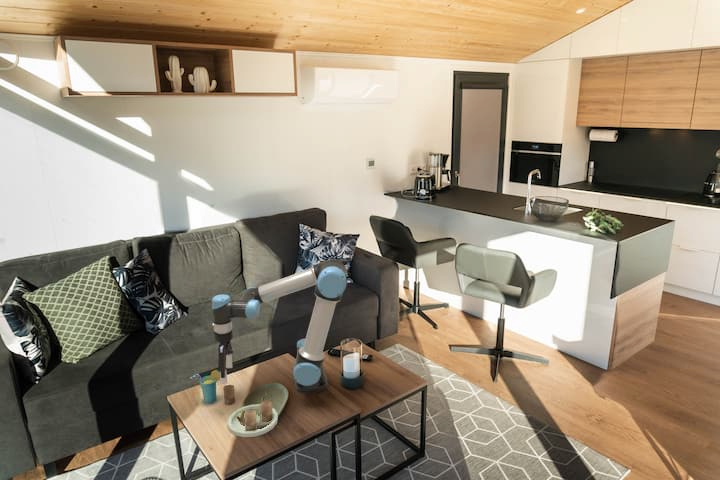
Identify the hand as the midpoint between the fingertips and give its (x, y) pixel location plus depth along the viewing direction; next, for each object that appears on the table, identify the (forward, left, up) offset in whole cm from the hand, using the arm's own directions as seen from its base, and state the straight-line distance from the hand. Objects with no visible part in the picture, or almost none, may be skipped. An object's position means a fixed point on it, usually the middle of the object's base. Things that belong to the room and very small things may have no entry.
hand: (226, 375), depth 215 cm
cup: (+10, -3, -14) cm, 17 cm away
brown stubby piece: (0, 0, -14) cm, 14 cm away
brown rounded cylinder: (-18, +16, -13) cm, 27 cm away
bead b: (-12, +22, -13) cm, 28 cm away
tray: (-12, +16, -14) cm, 24 cm away
